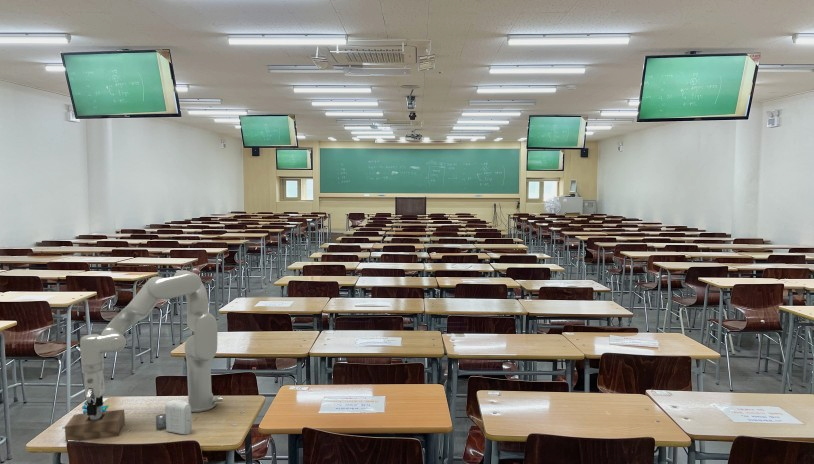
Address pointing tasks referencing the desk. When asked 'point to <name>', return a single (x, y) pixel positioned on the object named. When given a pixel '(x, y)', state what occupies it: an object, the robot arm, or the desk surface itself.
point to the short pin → (161, 422)
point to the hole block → (95, 426)
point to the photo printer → (178, 417)
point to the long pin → (98, 415)
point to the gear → (103, 408)
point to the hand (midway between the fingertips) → (95, 410)
